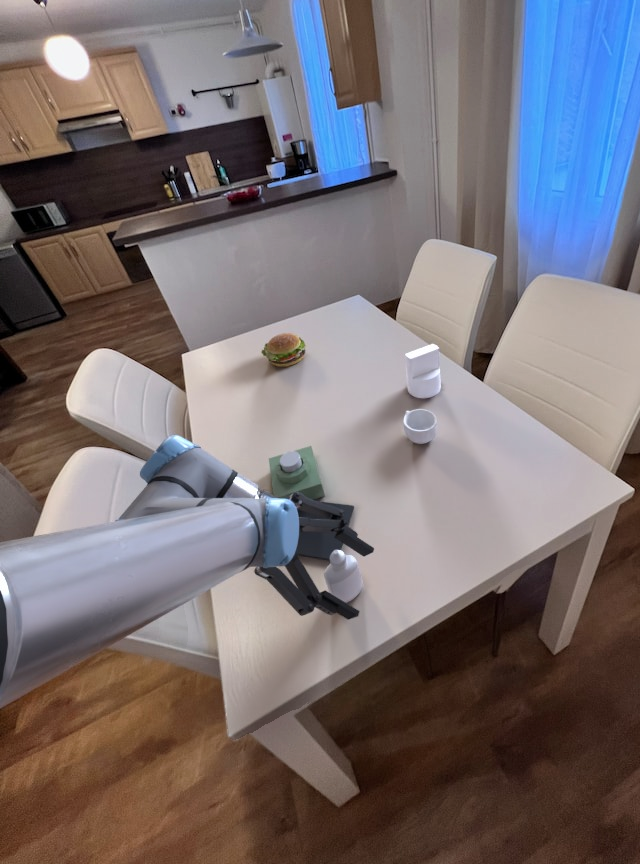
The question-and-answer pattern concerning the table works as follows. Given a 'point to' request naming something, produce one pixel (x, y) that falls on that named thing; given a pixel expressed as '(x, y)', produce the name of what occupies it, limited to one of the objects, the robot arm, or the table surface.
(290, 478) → the green button base
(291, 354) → the food
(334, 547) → the mat
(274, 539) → the robot arm
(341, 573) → the eye dropper bottle
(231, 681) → the table surface
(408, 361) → the cylinder with rectangular tab
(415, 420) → the teacup
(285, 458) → the grey round button
